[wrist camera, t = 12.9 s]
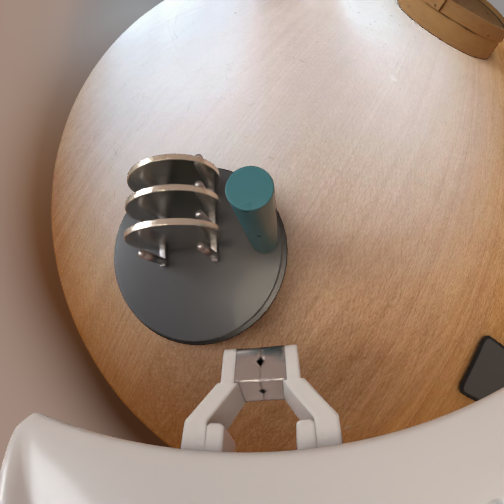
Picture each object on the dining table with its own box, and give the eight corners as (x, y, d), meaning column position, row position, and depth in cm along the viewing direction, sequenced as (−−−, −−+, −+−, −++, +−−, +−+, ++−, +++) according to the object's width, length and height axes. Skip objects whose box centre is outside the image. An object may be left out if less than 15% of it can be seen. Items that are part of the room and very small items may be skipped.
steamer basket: (436, 49, 30) (455, 6, 19) (377, -11, 35) (383, -46, 24) (508, 70, 28) (528, 42, 17) (452, 7, 33) (462, -20, 22)
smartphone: (511, 418, 18) (459, 392, 21) (507, 416, 19) (454, 390, 22) (533, 370, 19) (487, 332, 21) (529, 369, 20) (482, 331, 22)
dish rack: (290, 333, 24) (299, 365, 12) (123, 340, 26) (31, 354, 13) (271, 160, 27) (261, 68, 15) (121, 186, 29) (50, 131, 16)
